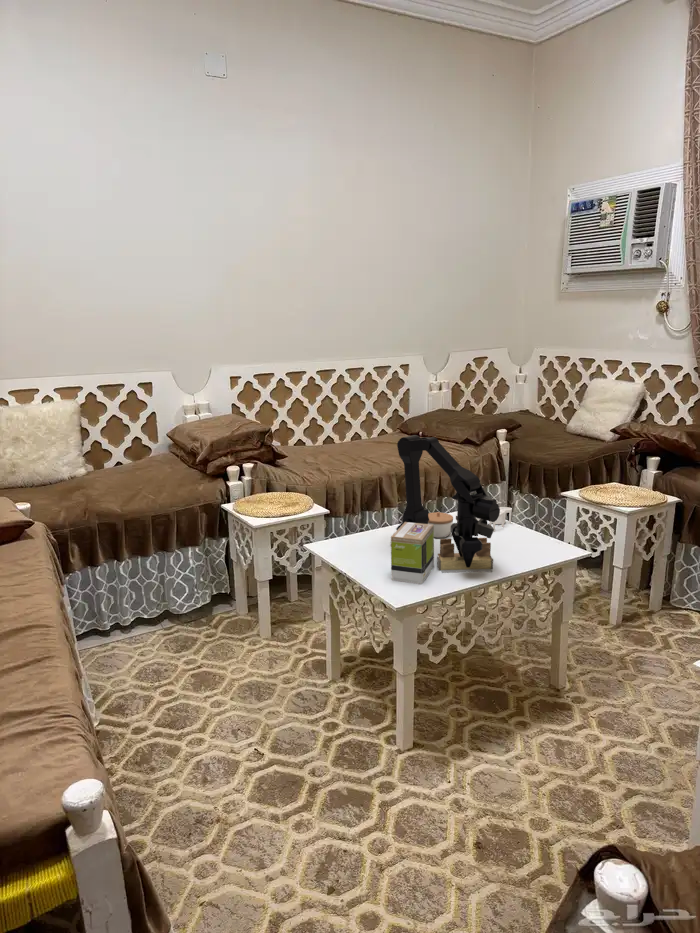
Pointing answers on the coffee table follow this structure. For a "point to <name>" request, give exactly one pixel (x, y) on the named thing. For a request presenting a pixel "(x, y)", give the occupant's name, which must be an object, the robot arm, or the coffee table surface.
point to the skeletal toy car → (501, 517)
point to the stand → (448, 551)
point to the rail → (459, 563)
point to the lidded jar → (441, 524)
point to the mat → (466, 570)
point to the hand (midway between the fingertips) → (464, 561)
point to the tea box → (412, 552)
